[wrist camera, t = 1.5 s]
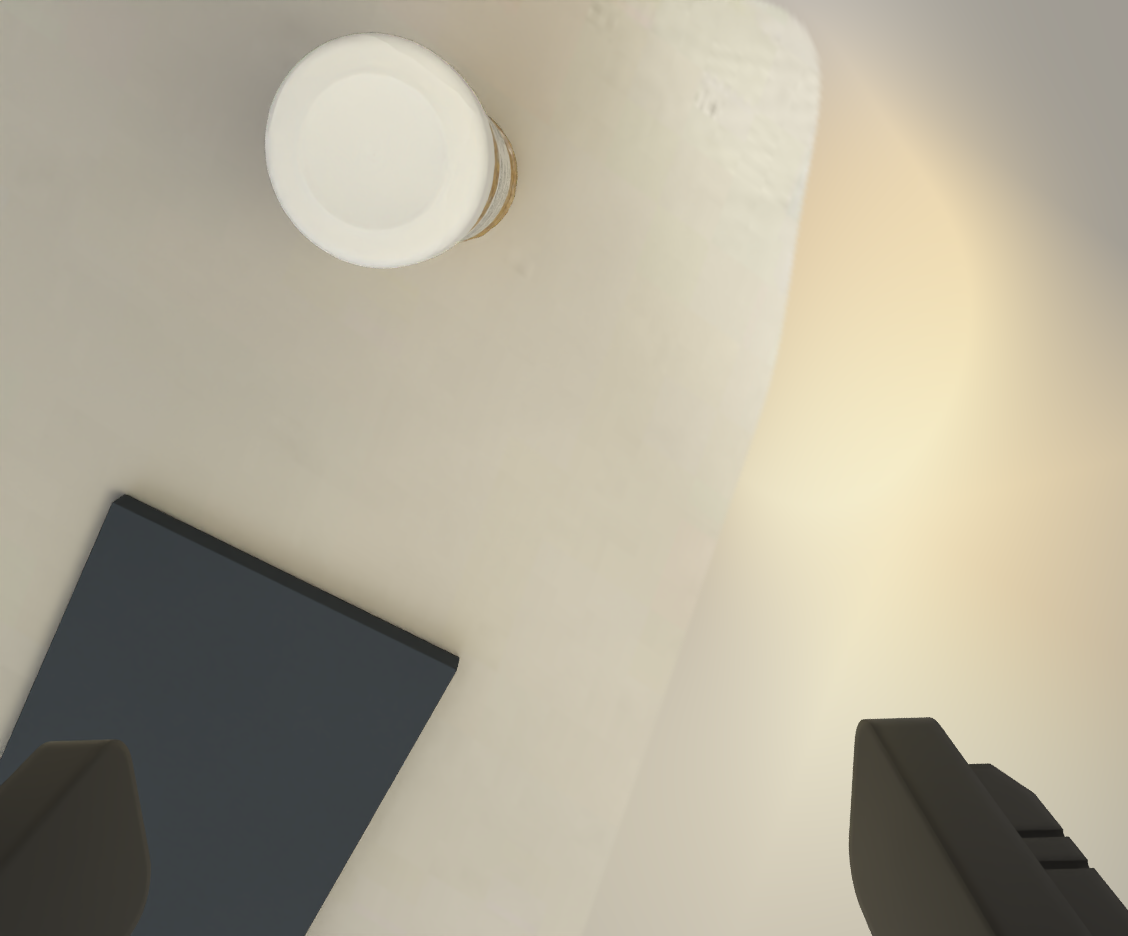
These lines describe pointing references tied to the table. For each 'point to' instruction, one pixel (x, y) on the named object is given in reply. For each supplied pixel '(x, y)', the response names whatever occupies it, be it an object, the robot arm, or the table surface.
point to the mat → (231, 719)
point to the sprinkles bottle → (385, 153)
